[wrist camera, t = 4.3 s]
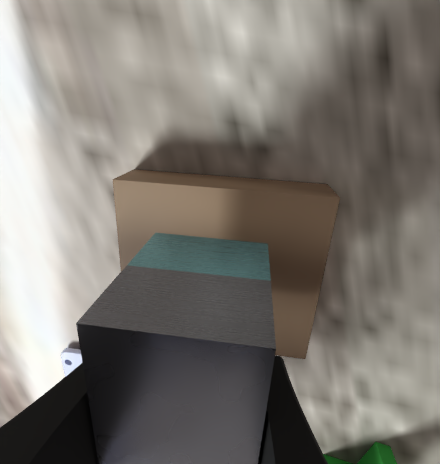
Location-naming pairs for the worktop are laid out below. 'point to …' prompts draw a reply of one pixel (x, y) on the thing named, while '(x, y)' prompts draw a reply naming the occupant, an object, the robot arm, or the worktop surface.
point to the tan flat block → (240, 231)
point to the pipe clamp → (370, 456)
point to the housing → (181, 354)
